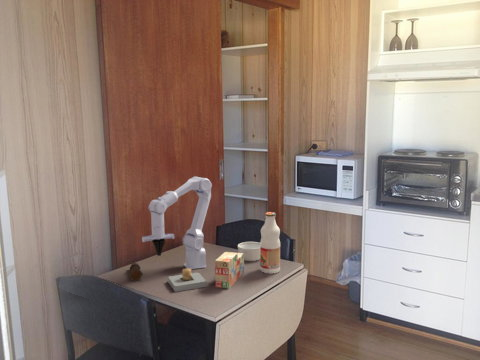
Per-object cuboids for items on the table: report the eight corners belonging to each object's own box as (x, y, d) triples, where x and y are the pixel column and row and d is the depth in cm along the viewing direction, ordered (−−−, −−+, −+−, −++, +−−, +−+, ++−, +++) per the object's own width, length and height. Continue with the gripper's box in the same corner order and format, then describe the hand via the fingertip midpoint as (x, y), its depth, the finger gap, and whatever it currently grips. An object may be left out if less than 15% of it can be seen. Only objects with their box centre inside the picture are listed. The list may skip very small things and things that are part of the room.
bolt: (136, 272, 210) (138, 283, 195) (126, 268, 208) (127, 278, 194) (142, 262, 210) (144, 271, 196) (132, 258, 209) (134, 267, 194)
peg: (189, 281, 193) (188, 267, 192) (193, 284, 189) (193, 270, 189) (181, 283, 190) (180, 269, 190) (185, 286, 187) (184, 272, 186)
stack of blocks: (231, 270, 207) (231, 245, 205) (244, 272, 205) (244, 247, 203) (215, 287, 187) (214, 259, 185) (228, 289, 185) (228, 261, 183)
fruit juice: (277, 275, 200) (277, 215, 196) (257, 272, 203) (257, 214, 199) (282, 268, 209) (282, 211, 205) (263, 266, 212) (263, 210, 208)
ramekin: (232, 259, 223) (232, 246, 222) (246, 252, 234) (246, 240, 233) (254, 264, 216) (254, 250, 215) (267, 257, 227) (267, 244, 226)
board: (198, 277, 198) (198, 272, 198) (206, 286, 187) (206, 281, 187) (168, 281, 193) (168, 276, 192) (174, 291, 182) (174, 286, 181)
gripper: (171, 222, 203) (172, 250, 205) (140, 225, 198) (141, 254, 200) (175, 226, 197) (176, 255, 199) (143, 229, 191) (144, 259, 193)
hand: (158, 255), depth 199 cm, fingers closed
